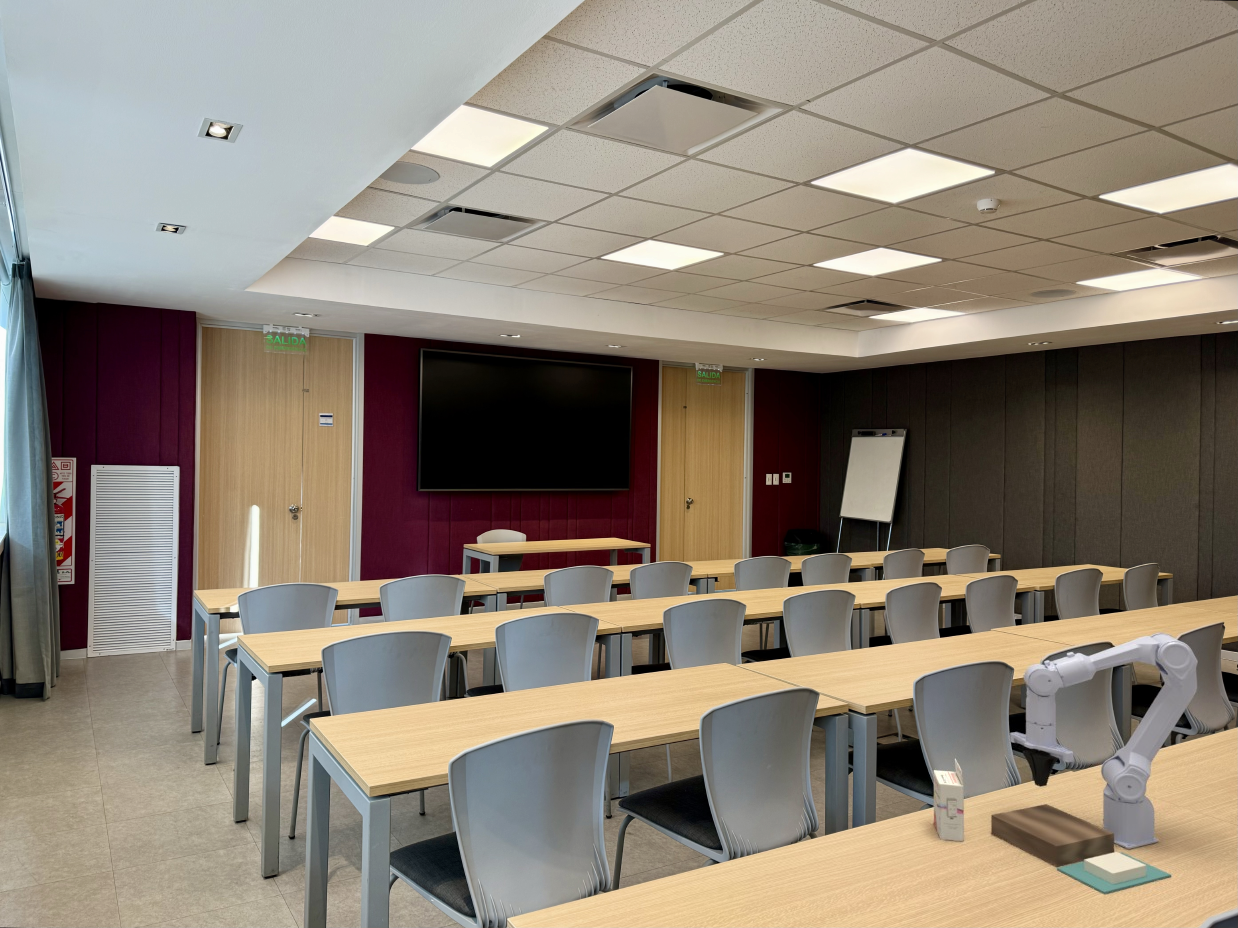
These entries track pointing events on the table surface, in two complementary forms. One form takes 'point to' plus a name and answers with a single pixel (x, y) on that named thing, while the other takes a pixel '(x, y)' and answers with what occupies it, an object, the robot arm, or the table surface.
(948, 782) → the ink cartridge box
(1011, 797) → the table surface
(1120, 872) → the tile
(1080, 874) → the mat
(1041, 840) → the stand
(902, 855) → the table surface
